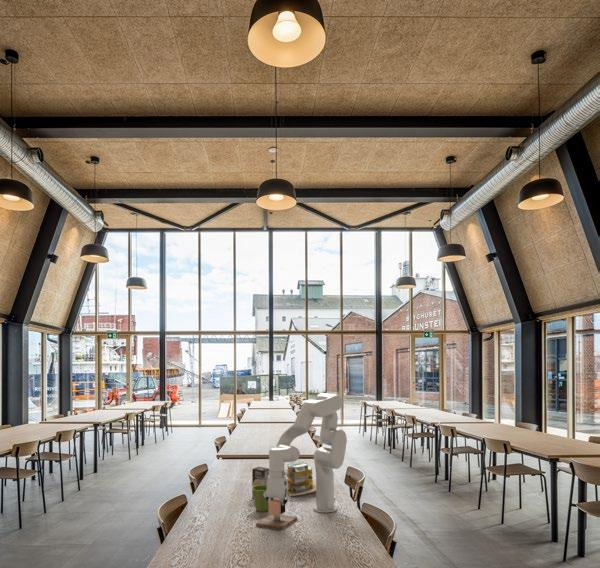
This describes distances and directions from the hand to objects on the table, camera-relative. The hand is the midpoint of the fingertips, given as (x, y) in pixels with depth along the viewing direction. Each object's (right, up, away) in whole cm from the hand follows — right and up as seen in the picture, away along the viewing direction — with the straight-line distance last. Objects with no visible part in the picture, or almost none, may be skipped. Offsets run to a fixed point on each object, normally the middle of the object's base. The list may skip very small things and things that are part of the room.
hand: (277, 511), depth 244 cm
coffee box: (-11, -11, +41) cm, 44 cm away
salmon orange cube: (0, -1, 0) cm, 1 cm away
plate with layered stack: (+12, -12, +53) cm, 55 cm away
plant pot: (-8, -8, +20) cm, 23 cm away
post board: (0, -5, -1) cm, 5 cm away
